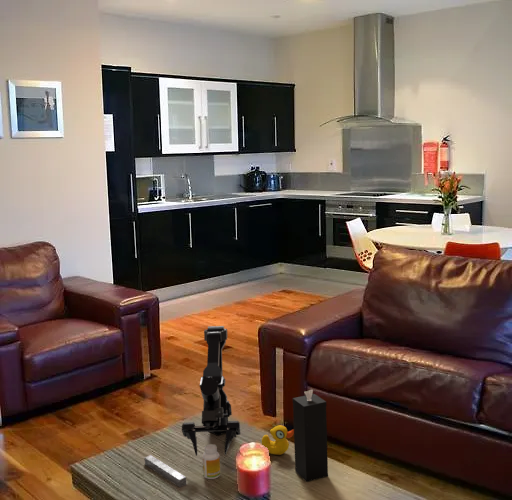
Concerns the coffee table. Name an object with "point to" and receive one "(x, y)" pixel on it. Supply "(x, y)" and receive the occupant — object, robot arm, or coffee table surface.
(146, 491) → the coffee table surface
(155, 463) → the price rail
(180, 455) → the coffee table surface
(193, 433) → the robot arm
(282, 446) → the duckling
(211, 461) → the supplement bottle
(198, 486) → the coffee table surface
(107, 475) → the coffee table surface
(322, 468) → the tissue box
